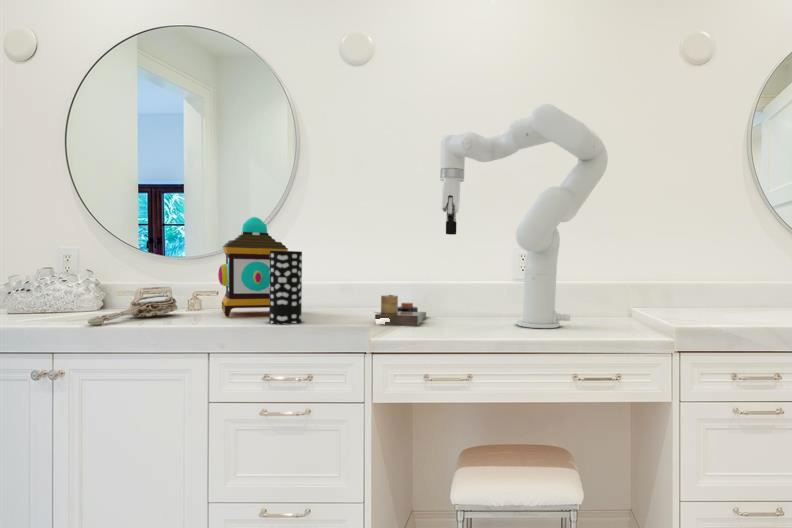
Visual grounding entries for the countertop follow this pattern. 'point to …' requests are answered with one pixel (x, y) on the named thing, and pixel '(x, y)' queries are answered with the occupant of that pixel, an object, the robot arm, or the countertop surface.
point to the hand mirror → (141, 308)
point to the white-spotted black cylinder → (285, 287)
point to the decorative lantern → (248, 267)
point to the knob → (389, 304)
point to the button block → (411, 310)
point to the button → (406, 305)
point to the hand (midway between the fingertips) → (450, 234)
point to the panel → (402, 318)
